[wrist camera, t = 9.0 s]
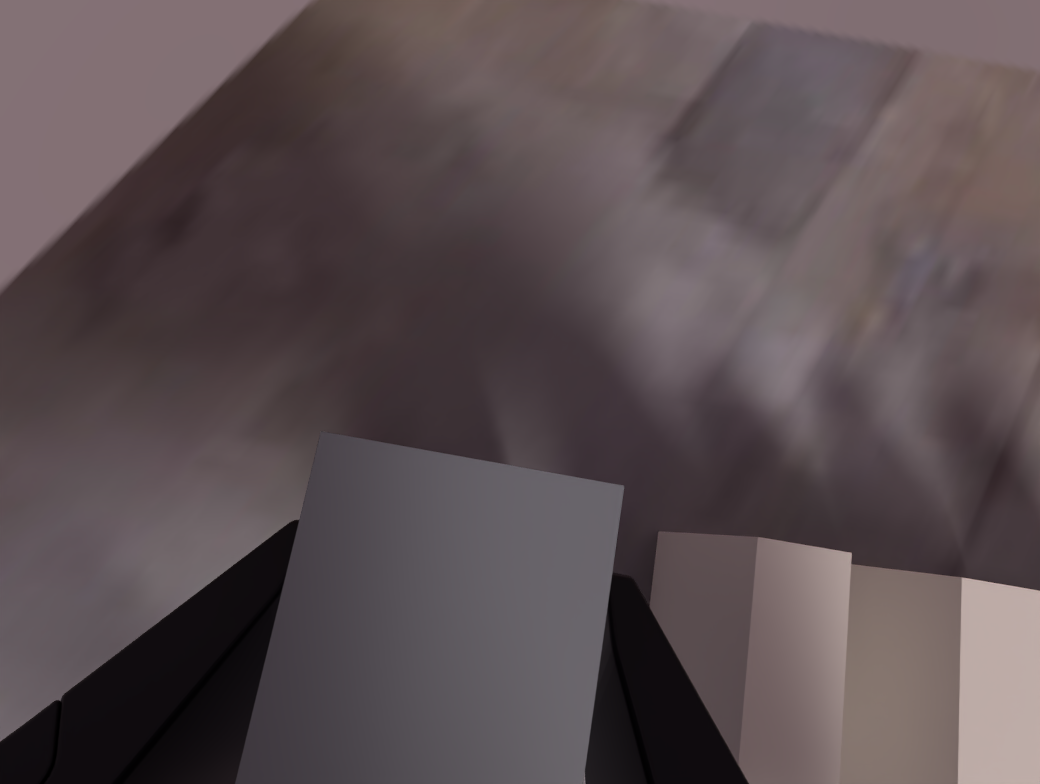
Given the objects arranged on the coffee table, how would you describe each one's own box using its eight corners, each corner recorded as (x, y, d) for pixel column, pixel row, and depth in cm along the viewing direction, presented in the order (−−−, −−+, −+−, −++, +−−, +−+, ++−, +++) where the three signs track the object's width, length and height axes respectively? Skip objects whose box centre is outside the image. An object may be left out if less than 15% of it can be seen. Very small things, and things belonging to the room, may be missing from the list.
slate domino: (521, 512, 17) (624, 485, 4) (487, 712, 16) (483, 1507, 3) (448, 499, 17) (320, 432, 4) (409, 698, 16) (74, 1443, 3)
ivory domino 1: (716, 541, 17) (851, 553, 11) (697, 741, 16) (833, 889, 10) (658, 531, 17) (757, 536, 11) (634, 731, 16) (730, 871, 9)
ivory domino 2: (843, 566, 17) (1055, 593, 11) (832, 768, 16) (1059, 933, 10) (785, 556, 17) (961, 577, 11) (769, 758, 16) (955, 917, 9)
